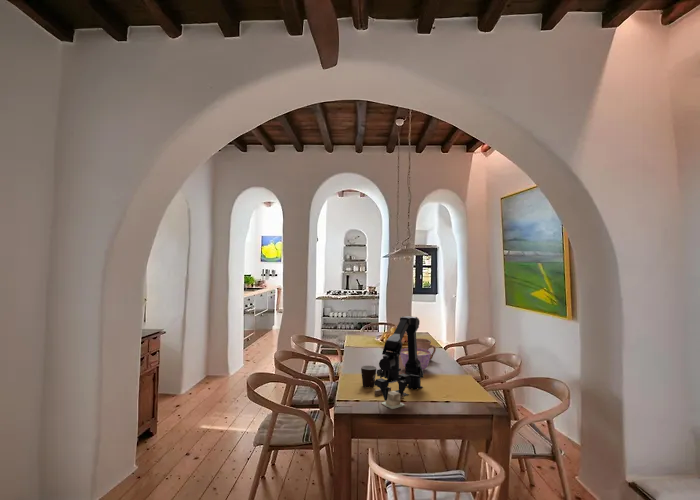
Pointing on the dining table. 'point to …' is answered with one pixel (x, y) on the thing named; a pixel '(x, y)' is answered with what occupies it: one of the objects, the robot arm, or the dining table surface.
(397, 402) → the beech block
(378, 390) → the walnut channel
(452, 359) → the dining table surface
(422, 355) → the bowl of food
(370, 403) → the dining table surface
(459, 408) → the dining table surface
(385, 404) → the sage coaster
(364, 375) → the coffee mug
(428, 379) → the dining table surface
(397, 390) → the tile
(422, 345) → the ceramic jug
